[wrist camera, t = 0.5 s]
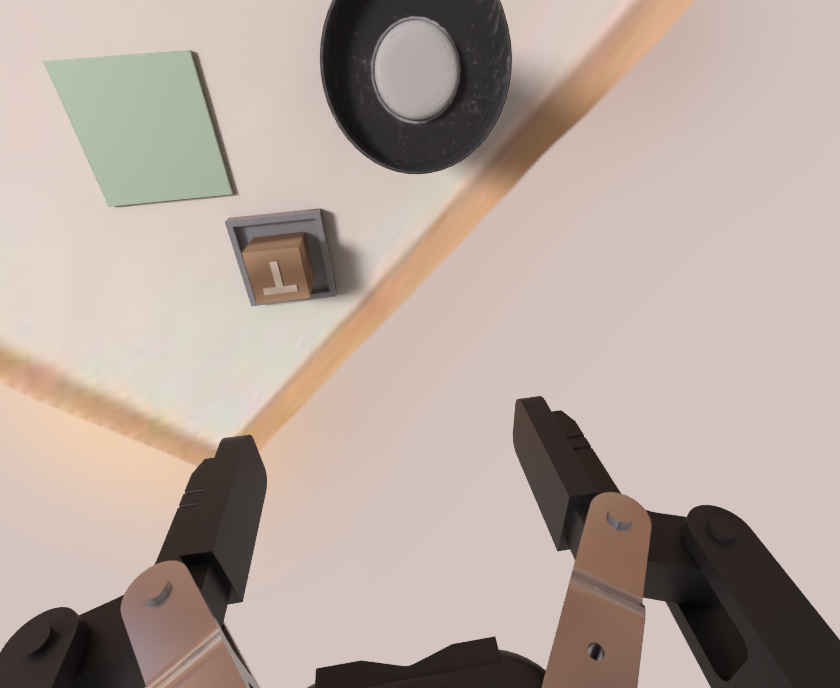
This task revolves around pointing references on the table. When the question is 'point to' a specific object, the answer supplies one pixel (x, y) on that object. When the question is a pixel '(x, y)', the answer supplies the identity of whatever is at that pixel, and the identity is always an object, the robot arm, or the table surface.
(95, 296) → the table surface
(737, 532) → the robot arm
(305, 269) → the letter cube
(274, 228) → the tray
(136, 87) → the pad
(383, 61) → the travel mug
